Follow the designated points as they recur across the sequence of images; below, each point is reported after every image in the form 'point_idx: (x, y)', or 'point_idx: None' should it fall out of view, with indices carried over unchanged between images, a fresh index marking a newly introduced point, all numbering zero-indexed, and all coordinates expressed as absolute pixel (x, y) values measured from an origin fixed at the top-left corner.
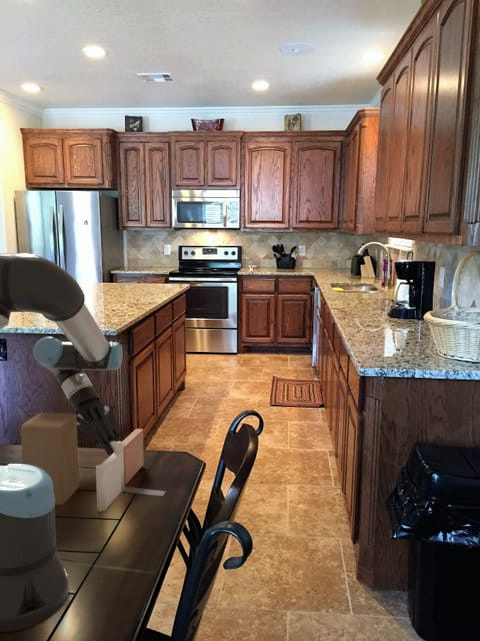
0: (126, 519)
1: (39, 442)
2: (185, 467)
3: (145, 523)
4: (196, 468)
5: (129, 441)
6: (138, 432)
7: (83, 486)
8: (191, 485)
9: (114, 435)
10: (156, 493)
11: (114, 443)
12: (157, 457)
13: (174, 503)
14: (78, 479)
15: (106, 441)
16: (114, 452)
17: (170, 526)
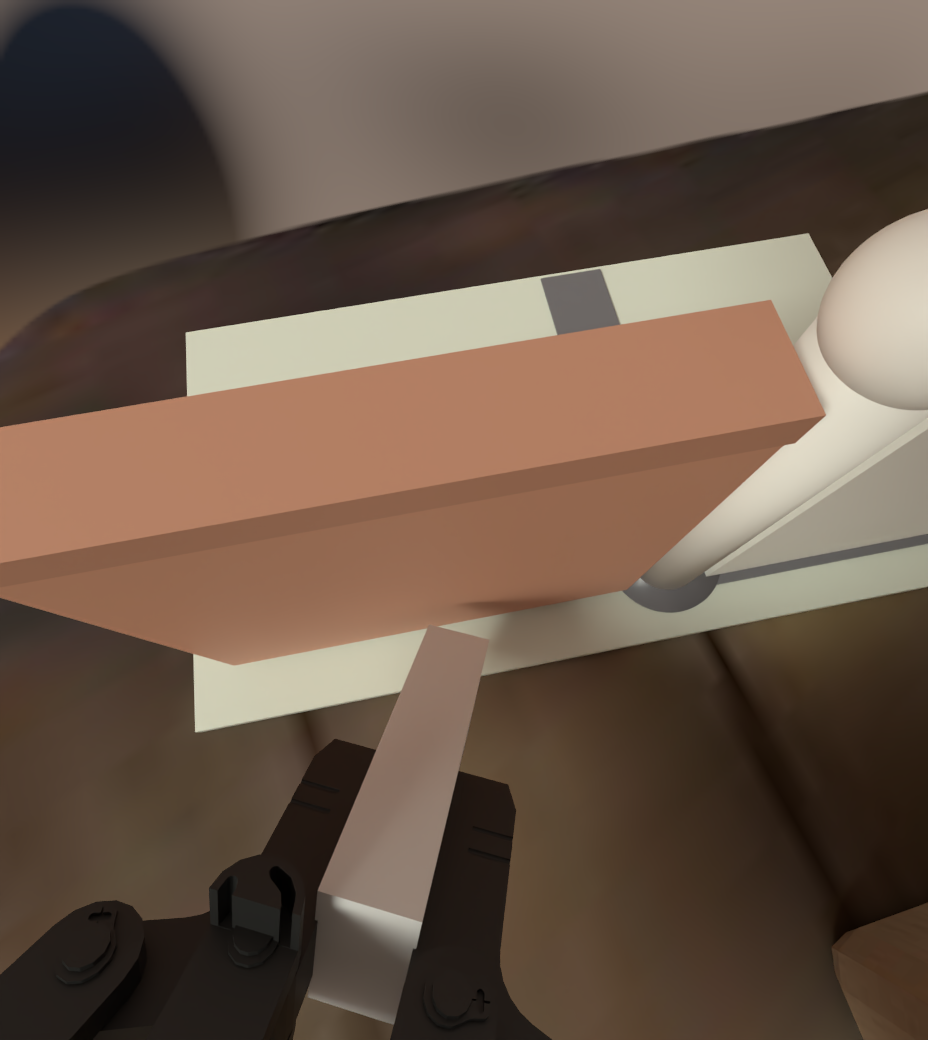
0: None
1: None
2: (156, 339)
3: (866, 234)
4: (155, 276)
5: (572, 343)
6: (122, 427)
7: (769, 917)
8: (389, 214)
9: (195, 993)
10: (591, 311)
11: (373, 849)
12: (12, 613)
13: (616, 205)
14: (916, 950)
15: (477, 996)
16: (920, 421)
17: (809, 137)
